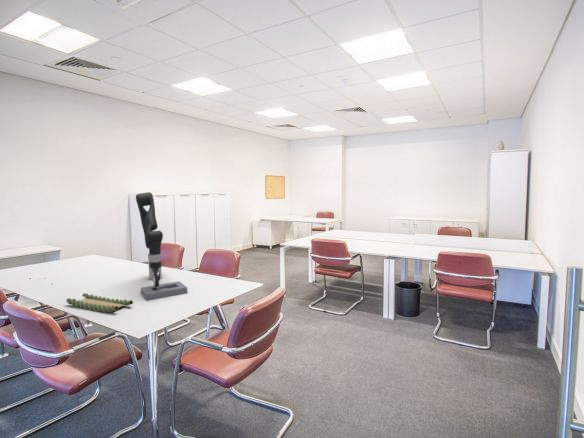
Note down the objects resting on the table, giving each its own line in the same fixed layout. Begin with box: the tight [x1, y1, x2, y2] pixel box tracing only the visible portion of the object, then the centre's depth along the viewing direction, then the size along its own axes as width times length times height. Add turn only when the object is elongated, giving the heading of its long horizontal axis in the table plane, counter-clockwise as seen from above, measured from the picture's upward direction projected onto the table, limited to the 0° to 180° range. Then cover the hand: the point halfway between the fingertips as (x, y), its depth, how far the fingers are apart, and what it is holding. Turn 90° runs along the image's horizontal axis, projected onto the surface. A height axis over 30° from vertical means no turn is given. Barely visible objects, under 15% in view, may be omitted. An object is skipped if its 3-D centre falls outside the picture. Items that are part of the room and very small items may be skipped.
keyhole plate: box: [140, 280, 188, 301], centre depth 223 cm, size 18×26×4 cm
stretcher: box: [66, 292, 134, 313], centre depth 198 cm, size 41×14×5 cm, turn 69°
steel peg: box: [152, 276, 159, 290], centre depth 220 cm, size 6×6×12 cm
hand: (156, 285), depth 220 cm, fingers closed on steel peg, 3 cm apart
